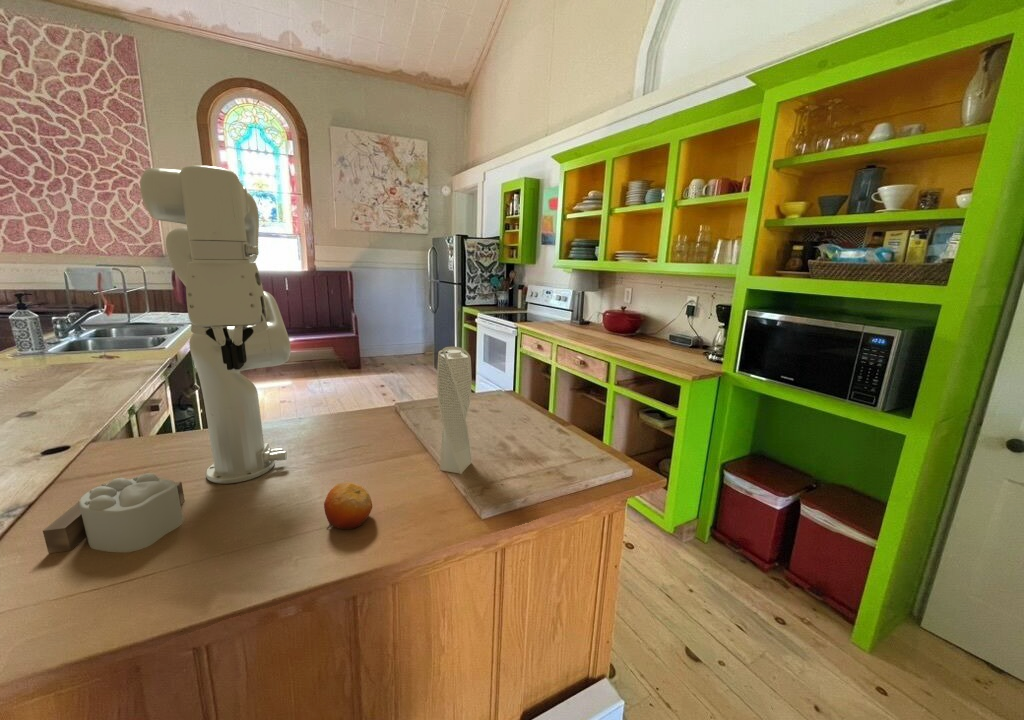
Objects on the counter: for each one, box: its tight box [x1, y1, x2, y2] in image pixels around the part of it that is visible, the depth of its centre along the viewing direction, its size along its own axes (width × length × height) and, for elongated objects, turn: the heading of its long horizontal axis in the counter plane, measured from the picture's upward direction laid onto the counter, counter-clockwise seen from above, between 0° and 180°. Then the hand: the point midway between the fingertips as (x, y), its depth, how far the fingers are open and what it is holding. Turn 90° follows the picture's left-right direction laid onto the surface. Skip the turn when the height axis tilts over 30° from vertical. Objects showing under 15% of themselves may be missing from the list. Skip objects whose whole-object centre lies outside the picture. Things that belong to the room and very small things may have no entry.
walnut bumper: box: [42, 481, 186, 554], centre depth 75 cm, size 14×12×4 cm
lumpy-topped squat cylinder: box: [78, 472, 184, 553], centre depth 73 cm, size 10×13×9 cm
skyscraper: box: [436, 346, 473, 475], centre depth 94 cm, size 8×8×28 cm
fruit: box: [323, 482, 373, 530], centre depth 76 cm, size 8×8×8 cm
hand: (236, 367), depth 72 cm, fingers closed
